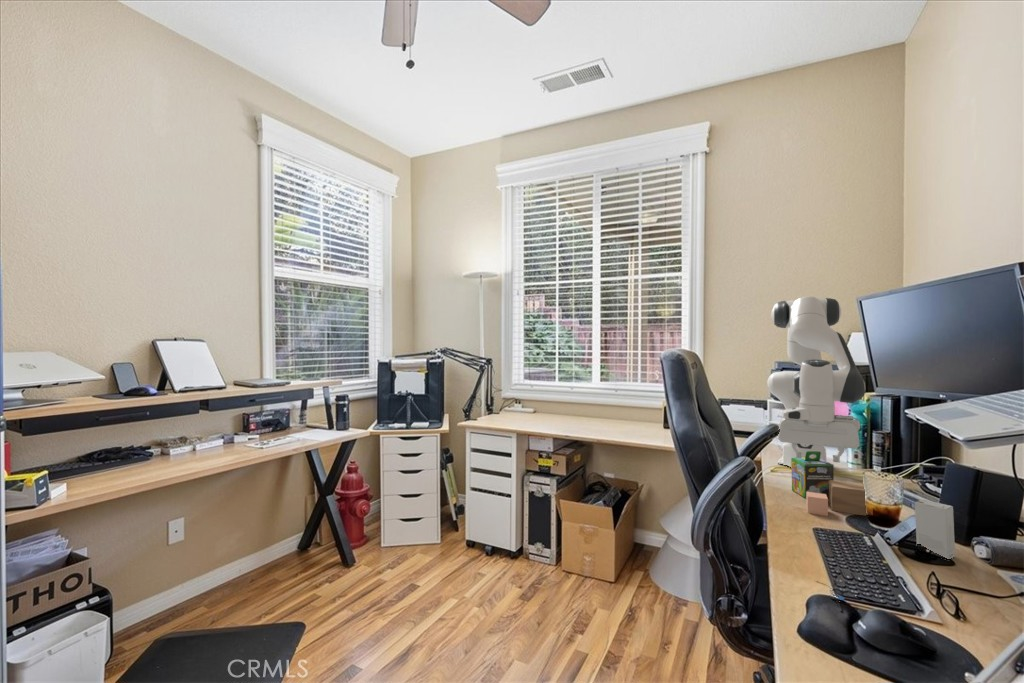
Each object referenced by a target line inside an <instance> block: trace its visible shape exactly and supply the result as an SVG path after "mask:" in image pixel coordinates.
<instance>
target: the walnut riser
mask: <svg viewBox="0 0 1024 683" xmlns="http://www.w3.org/2000/svg"><path fill="white" fill-rule="evenodd" d="M864 484H865V483H858V482H850V481H841V480H835V479H834V480H830V481H829V499H828V505H829V507H830V509H831V511H832V512H833V511H834V512H839V513H843V514H851V515H859V516H865V517H867V516H866V515H867V513H866V505H865V489H864Z"/></svg>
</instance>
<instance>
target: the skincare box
mask: <svg viewBox="0 0 1024 683" xmlns="http://www.w3.org/2000/svg"><path fill="white" fill-rule="evenodd" d="M914 513H915V514H914V515H915V519H914V520H915V536H916V540H915V541H916V545H917V544H921V545H923V546H924V547H926V548H927V549H929V550H931V551H933V552H934V553H937V554H939V555H941V556H943V557H945V558H947V559H951V558H952V559H954V558H955V557H956V548H955V547H956V544H955V522H954V521H955V518H954V506H952V505H949V504H946V503H940V502H935V501H931V500H926V499H923V498H921V499H919V500H917V501H915V502H914ZM953 557H954V558H953ZM952 559H951V560H952Z"/></svg>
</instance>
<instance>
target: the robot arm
mask: <svg viewBox="0 0 1024 683" xmlns="http://www.w3.org/2000/svg"><path fill="white" fill-rule="evenodd" d="M770 312H771V313H770V315H771V320H772V322H773V324H774V325H775V326H776V327H777V328H782V329H786V328H787V335H786V336H787V338H786V340H787V341H786V342H787V343H786V344H787V357H788V358H787V359H789V360H790V361H791V362H792V363H794V364H796V365H798V366H800V370H799V371H796V370H795V371H794V370H783V371H776V372H772V373H771V374H770V375H769V376H768V378H767V382H766V386H767V390H768V391H769V392H770V393H771V394H772V395H773V396H774V397H776V398H777V399H778V400H779V401H780V402H781V403H782V405H783V406H784V410H783V411H782V418H781V420H780V421H779V426H778V430H779V429H780V432H779V434H778V433H777V439H778V440H779V442H780V443H783V444H782V446H781V457H780V458H779V459H778V460H777V462H776V464H777V463H779V464H778V465H780V464H786V465H790V466H791V458H802V457H805V456H806V452H807V451H819V452H821V455H820V459H822V460H824V461H827V448H826V447H831V448H833V447H834V448H837V451H838V452H837V453H836V454H835V455H832V462H833V463H840V462H841V461H840V459H841V456H842V455H843V454H844V452H845V449H853V450H854V449H857V448H859V447H860V438H859V437H860V436H859V431H860V429H861V422H860V420H859V419H857V417H854V416H853V415H841V414H836V412H835V410H836V407H835V406H836V405H835V402H840V403H845V404H846V403H848V404H855V403H856V402H858V401H860V400H862V398H864V396H865V394H866V382H865V381H864V378H863V376H862V374H861V373H860V371H859V368H858V367H857V365H856V363H855V361H854V358H853V356H852V353H851V352H850V348H849V347H848V344H847V342H846V340H845V338H844V337H843V335H842V334H841V333H840V332H838V331H835V330H834V329H833V328H832V327H831V326H835V325H836V324H838V323H839V321H840V319H841V316H842V308H841V305H840V303H839V301H838V300H837V299H835V298H829V297H825V298H817V297H814V296H808V295H807V296H801V297H799V298H797V299H792V300H787V301H785V300H782V301H778V302H776V303H774V304H773V308H772V310H771V311H770ZM822 352H823V353H826V354H828V355H830V356H832V357H833V359H834V361H835V364H836V367H837V368H838V370H833V365H832V363H831V362H830V361H827V360H824V359H822V358H823V357H822ZM809 457H816V455H814V454H812V455H810V456H809ZM827 462H828V461H827Z"/></svg>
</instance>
